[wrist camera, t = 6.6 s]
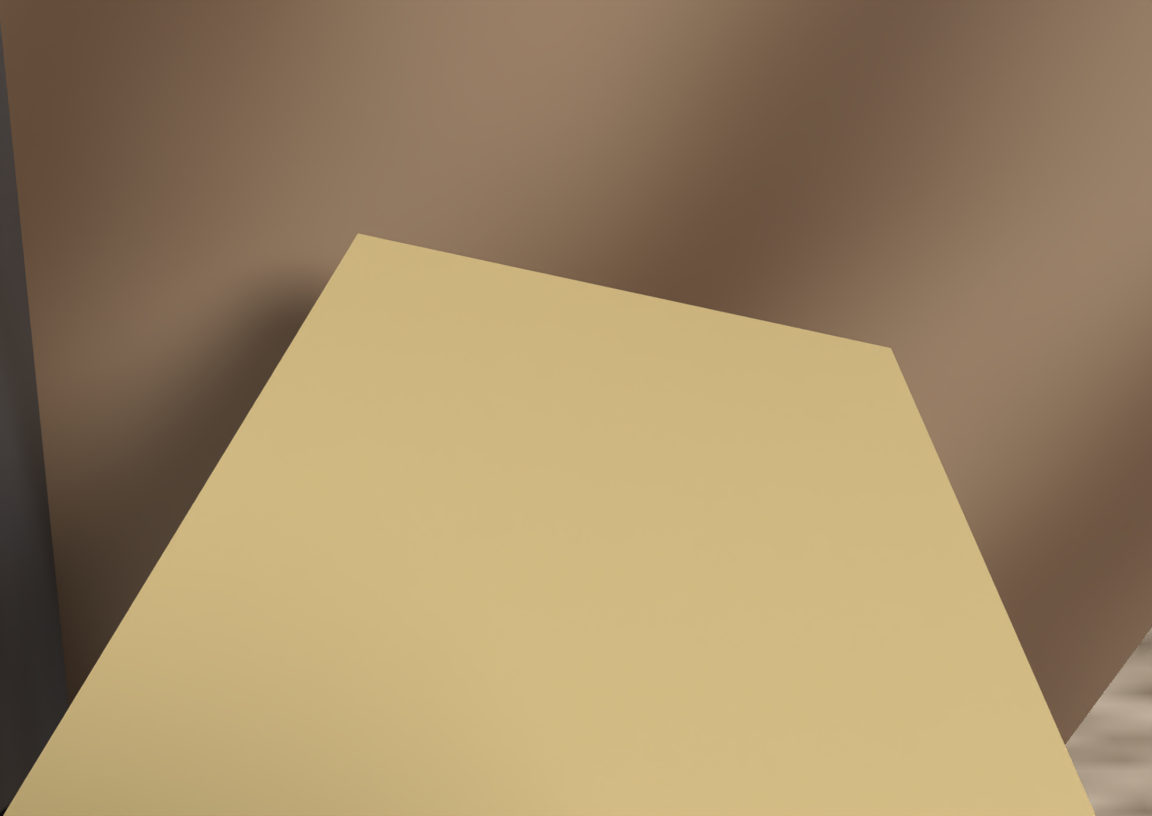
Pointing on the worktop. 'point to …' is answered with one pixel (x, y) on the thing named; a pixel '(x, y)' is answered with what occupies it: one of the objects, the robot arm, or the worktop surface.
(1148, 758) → the worktop surface
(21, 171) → the shelf board
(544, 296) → the ochre carton
